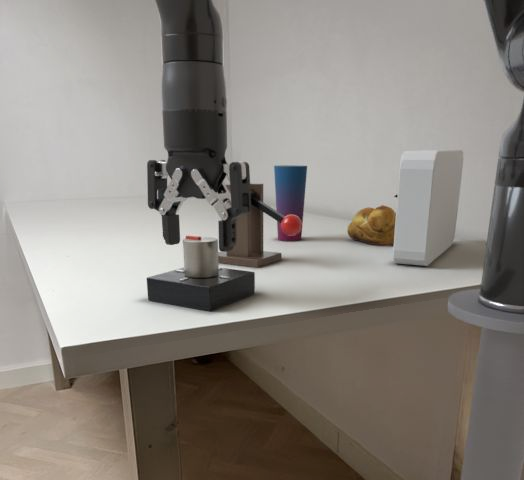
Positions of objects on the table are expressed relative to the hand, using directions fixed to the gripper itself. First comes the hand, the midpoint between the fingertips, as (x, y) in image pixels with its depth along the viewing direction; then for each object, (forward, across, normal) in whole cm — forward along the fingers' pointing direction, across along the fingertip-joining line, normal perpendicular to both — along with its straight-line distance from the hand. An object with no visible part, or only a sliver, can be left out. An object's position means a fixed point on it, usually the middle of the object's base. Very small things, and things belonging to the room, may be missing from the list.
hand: (199, 247), depth 70 cm
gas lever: (-1, -5, +24) cm, 25 cm away
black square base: (+7, 0, 0) cm, 7 cm away
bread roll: (+6, +3, +55) cm, 56 cm away
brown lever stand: (+6, -9, +24) cm, 27 cm away
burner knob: (+4, 0, 0) cm, 4 cm away
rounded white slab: (+6, +16, +47) cm, 50 cm away
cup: (+7, -14, +49) cm, 52 cm away
